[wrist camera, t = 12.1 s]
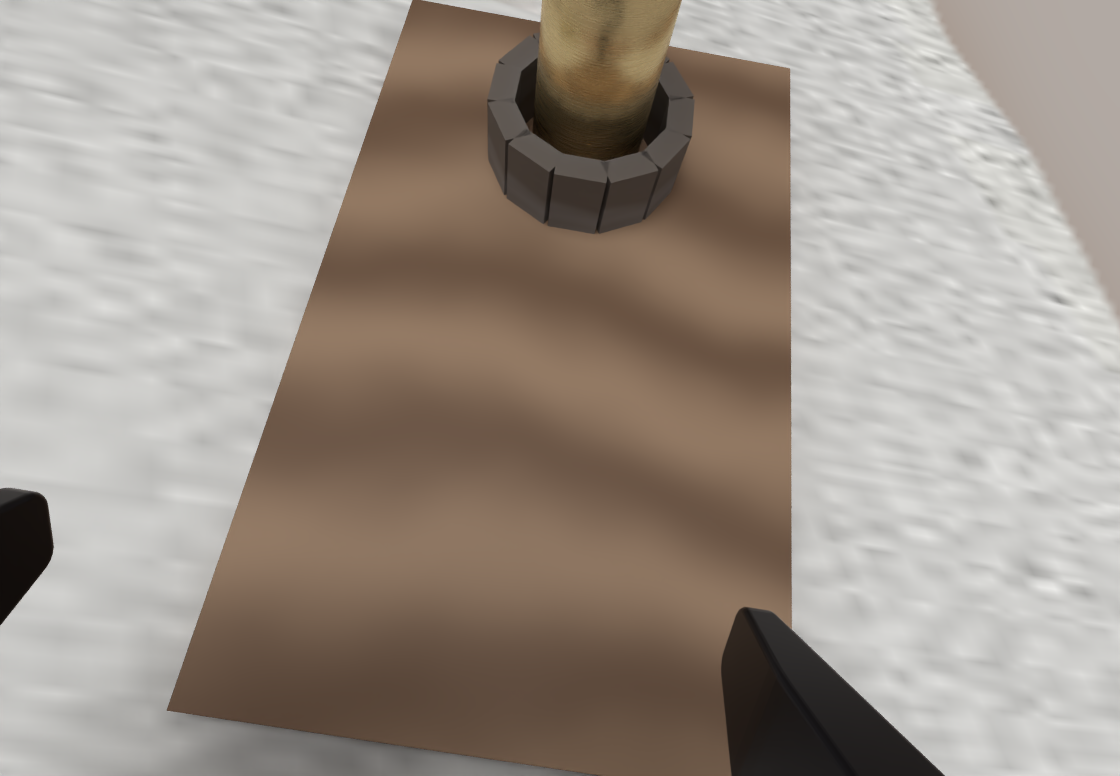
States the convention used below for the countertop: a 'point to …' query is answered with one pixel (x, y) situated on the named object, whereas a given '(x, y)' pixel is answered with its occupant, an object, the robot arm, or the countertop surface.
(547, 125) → the brass fitting
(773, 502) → the board
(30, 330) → the countertop surface
